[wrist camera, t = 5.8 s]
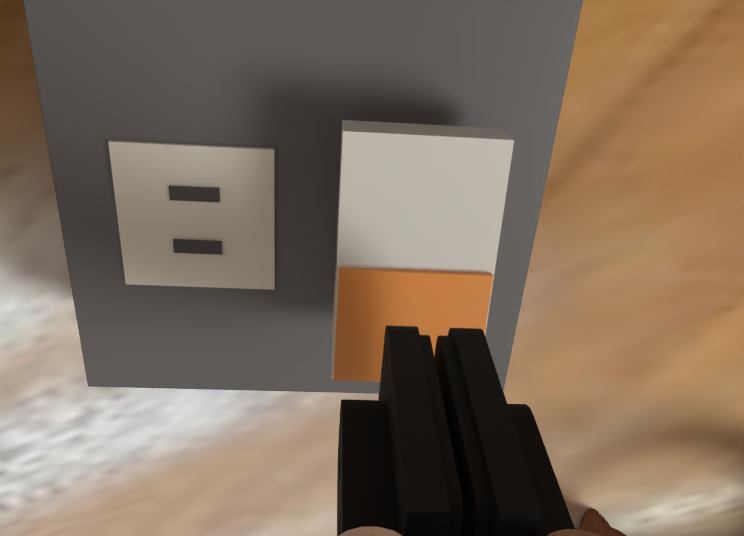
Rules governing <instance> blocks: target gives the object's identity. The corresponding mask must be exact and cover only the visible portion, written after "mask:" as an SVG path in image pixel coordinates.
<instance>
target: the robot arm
mask: <svg viewBox="0 0 744 536" xmlns="http://www.w3.org/2000/svg"><path fill="white" fill-rule="evenodd" d="M337 536H600V535H598V534H595V533H592V532H588V531H584V530H581V529H575V528H574V525H573V522H572V520H571V517H570V514H569V512H568V509H567V506H566V503H565V501H564V498H563V495H562V492H561V490H560V487H559V484H558V481H557V479H556V476H555V473H554V471H553V468H552V465H551V462H550V460H549V457H548V454H547V451H546V449H545V446H544V443H543V440H542V438H541V435H540V432H539V430H538V427H537V424H536V421H535V419H534V416H533V413H532V411H531V409H530V407H528V406H527V405H526V404H507V402H506V399H505V396H504V393H503V390H502V387H501V384H500V380H499V377H498V374H497V371H496V368H495V365H494V362H493V359H492V356H491V353H490V350H489V346H488V343H487V340H486V337H485V334H484V332H483V330H482V329H477V328H450V329H449V332H448V336H441V335H439V336H438V337H437V341H436V348H435V355H434V353H433V348H432V343H431V338H430V336H429V335H420V334H419V329H418V327H417V326H389V325H387V326H386V329H385V337H384V347H383V358H382V368H381V379H380V389H379V400H378V401H375V400H341V409H340V425H339V445H338V482H337Z"/></svg>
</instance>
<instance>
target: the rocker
mask: <svg viewBox="0 0 744 536" xmlns="http://www.w3.org/2000/svg"><path fill="white" fill-rule="evenodd" d="M513 145H514V140H513V139H512V138H511V137H510V136H509V135H508V134H507V133H506V132H505V131H503V130H502V129H501V128H484V127H465V126H447V125H428V124H410V123H391V122H373V121H354V120H342V135H341V157H340V179H339V201H338V223H337V244H336V266H335V288H334V310H333V331H332V353H331V379H334V381H369V382H380V379H381V368H382V358H383V347H384V337H385V329H386V326H387V325H389V326H417V327H418V329H419V334H420V335H429V336H430V338H431V343H432V348H433V353H434V355H435V348H436V341H437V337H438V336H439V335H441V336H448V332H449V329H450V328H477V329H482V330H483V332H484V334H486V327H487V320H488V313H489V307H490V300H491V293H492V287H493V280H494V273H495V266H496V260H497V253H498V246H499V239H500V233H501V226H502V219H503V212H504V206H505V199H506V192H507V185H508V179H509V172H510V165H511V158H512V152H513Z"/></svg>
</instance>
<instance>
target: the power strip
mask: <svg viewBox="0 0 744 536" xmlns="http://www.w3.org/2000/svg"><path fill="white" fill-rule="evenodd" d="M582 2H583V0H24V6H25V12H26V18H27V24H28V30H29V36H30V42H31V48H32V54H33V60H34V66H35V72H36V78H37V84H38V90H39V96H40V102H41V108H42V114H43V120H44V126H45V132H46V138H47V144H48V150H49V156H50V162H51V168H52V174H53V180H54V186H55V192H56V197H57V203H58V209H59V215H60V221H61V227H62V233H63V239H64V245H65V251H66V257H67V263H68V269H69V275H70V281H71V287H72V293H73V299H74V305H75V311H76V317H77V323H78V329H79V335H80V341H81V347H82V353H83V359H84V365H85V371H86V377H87V383H88V386H95V387H136V388H177V389H218V390H260V391H301V392H342V393H379V389H380V382H369V381H334V379H331V353H332V331H333V310H334V288H335V266H336V244H337V223H338V201H339V179H340V157H341V135H342V120H354V121H373V122H391V123H410V124H428V125H447V126H465V127H484V128H501V129H502V130H503V131H505V132H506V133H507V134H508V135H509V136H510V137H511V138H512V139H513V140H514V145H513V152H512V158H511V165H510V172H509V179H508V185H507V192H506V199H505V206H504V212H503V219H502V226H501V233H500V239H499V246H498V253H497V260H496V266H495V273H494V280H493V287H492V293H491V300H490V307H489V313H488V320H487V327H486V334H485V337H486V340H487V343H488V346H489V350H490V353H491V356H492V359H493V362H494V365H495V368H496V371H497V374H498V377H499V380H500V384H501V387H502V390H503V389H504V385H505V380H506V375H507V370H508V365H509V360H510V355H511V350H512V345H513V340H514V335H515V331H516V326H517V321H518V316H519V311H520V306H521V301H522V296H523V291H524V286H525V281H526V277H527V272H528V267H529V262H530V257H531V252H532V247H533V242H534V237H535V232H536V227H537V223H538V218H539V213H540V208H541V203H542V198H543V193H544V188H545V183H546V178H547V173H548V169H549V164H550V159H551V154H552V149H553V144H554V139H555V134H556V129H557V124H558V119H559V114H560V110H561V105H562V100H563V95H564V90H565V85H566V80H567V75H568V70H569V65H570V60H571V56H572V51H573V46H574V41H575V36H576V31H577V26H578V21H579V16H580V11H581V6H582Z"/></svg>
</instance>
